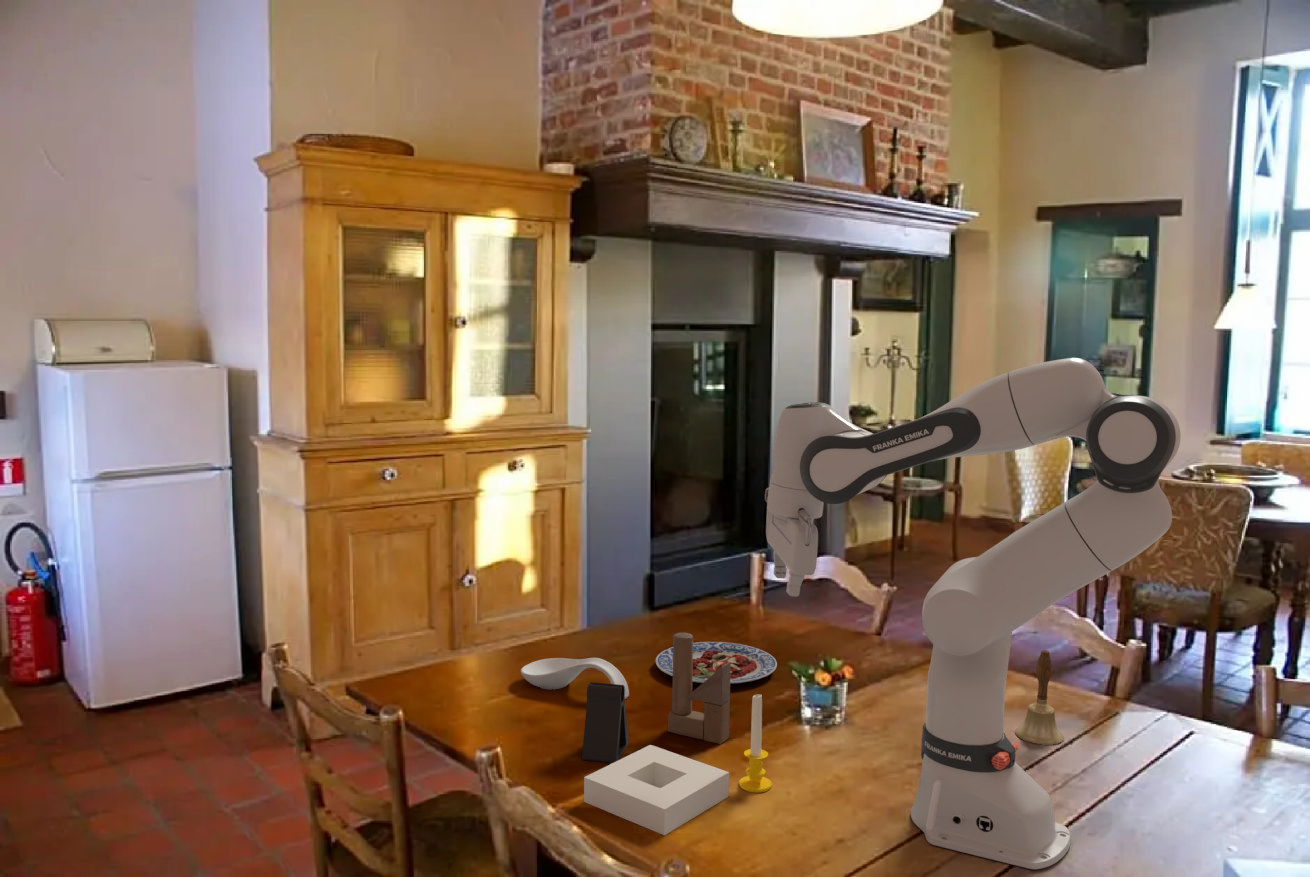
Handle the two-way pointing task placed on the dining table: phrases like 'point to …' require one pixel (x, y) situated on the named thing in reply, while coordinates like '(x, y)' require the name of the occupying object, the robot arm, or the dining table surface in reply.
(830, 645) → the dining table surface
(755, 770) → the candle
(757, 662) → the ceramic plate
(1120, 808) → the dining table surface
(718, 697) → the wooden block
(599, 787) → the hole board
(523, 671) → the spoon rest
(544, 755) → the dining table surface
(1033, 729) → the hand bell
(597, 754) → the phone stand
